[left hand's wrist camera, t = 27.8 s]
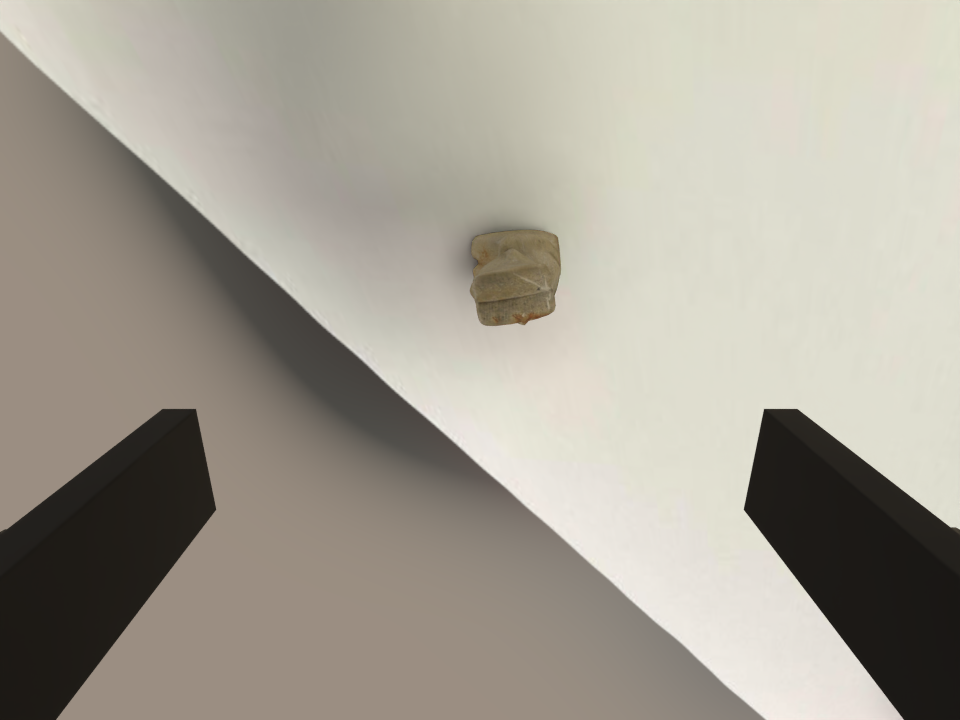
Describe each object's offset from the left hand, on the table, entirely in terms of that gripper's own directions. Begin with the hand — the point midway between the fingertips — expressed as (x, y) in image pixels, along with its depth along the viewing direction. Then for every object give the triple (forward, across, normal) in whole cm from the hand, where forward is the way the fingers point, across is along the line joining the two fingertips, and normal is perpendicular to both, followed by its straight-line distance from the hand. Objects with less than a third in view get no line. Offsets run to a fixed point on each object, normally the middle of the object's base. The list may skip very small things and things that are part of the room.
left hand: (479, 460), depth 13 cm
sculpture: (+36, -3, +1) cm, 36 cm away
